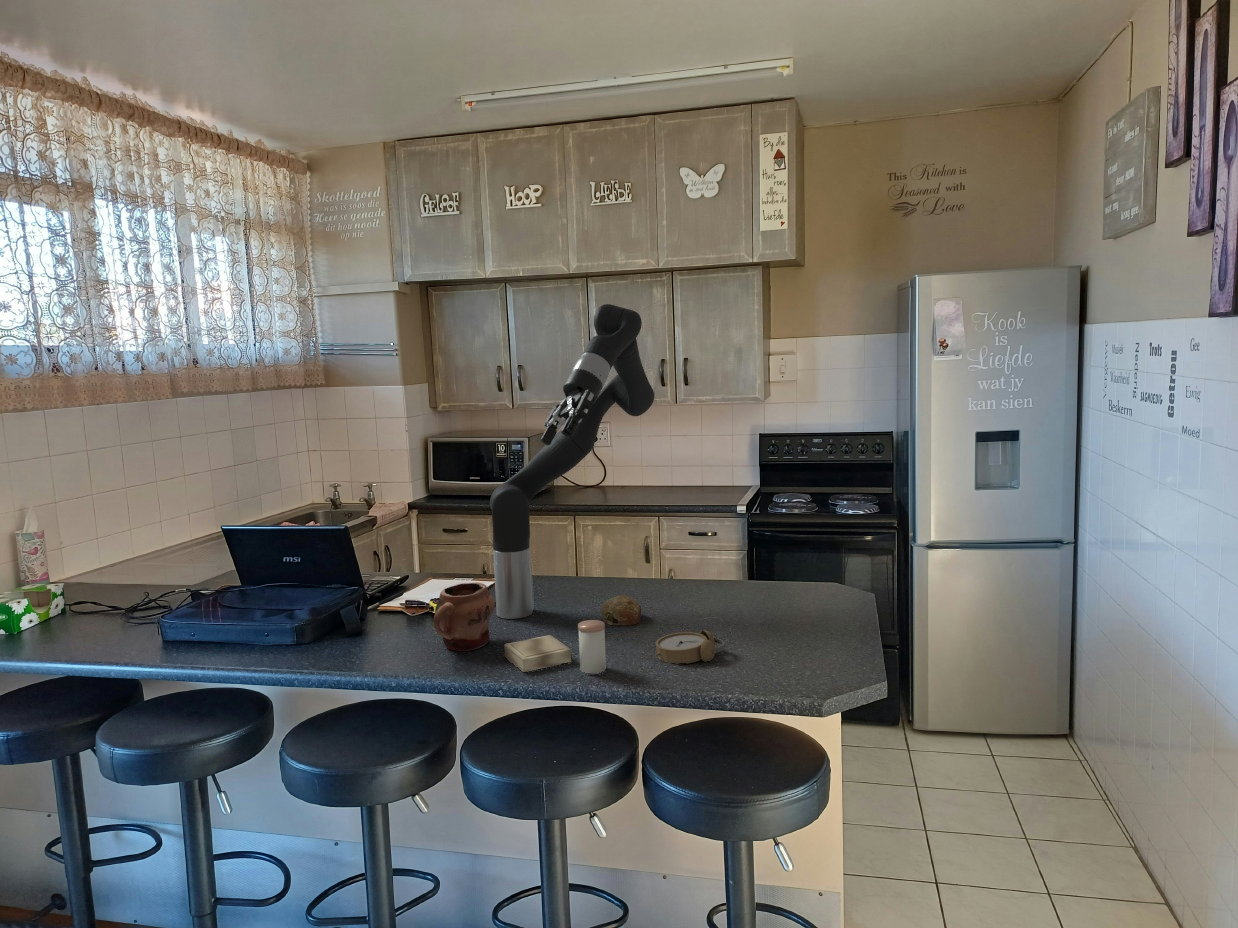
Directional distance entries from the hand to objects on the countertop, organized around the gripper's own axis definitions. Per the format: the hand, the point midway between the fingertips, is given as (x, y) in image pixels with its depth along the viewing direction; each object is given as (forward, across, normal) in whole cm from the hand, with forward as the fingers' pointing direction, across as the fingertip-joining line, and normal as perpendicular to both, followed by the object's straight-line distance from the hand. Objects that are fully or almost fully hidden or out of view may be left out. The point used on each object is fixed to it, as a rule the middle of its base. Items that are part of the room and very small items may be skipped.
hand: (554, 439), depth 173 cm
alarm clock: (+22, 0, -51) cm, 56 cm away
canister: (+35, +6, -34) cm, 49 cm away
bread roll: (+15, +28, -49) cm, 58 cm away
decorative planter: (+39, +36, -18) cm, 56 cm away
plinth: (+36, +18, -28) cm, 49 cm away
